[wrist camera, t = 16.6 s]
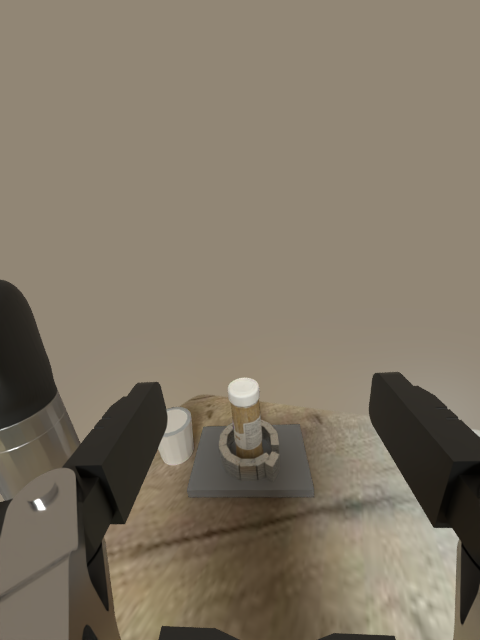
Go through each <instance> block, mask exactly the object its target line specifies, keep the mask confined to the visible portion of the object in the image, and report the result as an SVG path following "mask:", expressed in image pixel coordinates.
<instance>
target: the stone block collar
mask: <svg viewBox="0 0 480 640" xmlns="http://www.w3.org/2000/svg"><path fill="white" fill-rule="evenodd" d="M261 429H262V439H263V440H265V441H266V442H267V443H268V445H269V446H270V447H271V454H270V456H269V455H268V454H267V452H266V453H264V454H262V455H260V456H259V457H257V458H255V459H241V458H239V457H237V456H235V455H233V454H231V452H230V450H229V449H230V447H231V446H232V445H233V444H234V442H235V438H234V429H233V422H232V423H230V424H229V425H228V426H227V427H226V428H225V429H224V430H223V432H222V433H221V434H220V440H219V452H220V458H221V462H222V464H223V466H224V468H225V470H226V472H227V473H228V474H229V475H231V476H233V477H234V478H236V479H238V480H241V481H257V479H258V480H261V479H262V478H264V477H266V478H267V479H269V480H271V481H273V482H274V480H275V478H276V476H277V474H278V472H279V470H280V454H279V441H278V433H277V431H276V430H275V429H274V428H273V427H272V425H271V424H270V423H269V422H266V421H264V420H261Z"/></svg>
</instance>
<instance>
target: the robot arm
mask: <svg viewBox="0 0 480 640" xmlns="http://www.w3.org/2000/svg"><path fill="white" fill-rule="evenodd" d="M369 415H370V419H371V422H372V425H373V427H374V428H375V430H376V432H377V433H378V435H379V437H380V438H381V440H382V442H383V443H384V445H385V447H386V448H387V450H388V452H389V453H390V455H391V457H392V458H393V460H394V462H395V463H396V465H397V467H398V469H399V470H400V472H401V474H402V475H403V477H404V479H405V480H406V482H407V484H408V485H409V487H410V489H411V490H412V492H413V494H414V495H415V497H416V499H417V500H418V502H419V504H420V505H421V507H422V509H423V510H424V512H425V514H426V515H427V517H428V519H429V520H430V522H431V524H432V526H433V527H434V528H453V530H454V531H455V533H456V534H457V536H458V537H459V541H458V545H457V564H456V595H455V625H454V637H453V640H480V437H479V436H478V435H476V434H475V433H474V432H473V431H472V430H471V429H470V428H469V427H468V426H467V425H466V424H465V423H464V422H463V421H462V420H459V419H458V417H457V416H456V415H455V414H454V413H453V412H452V411H451V410H450V409H449V410H448V409H447V406H445V405H444V404H443V403H442V402H441V401H440V400H439V399H438V398H437V397H436V396H435V395H433V394H431V393H430V392H428V391H426V390H424V389H422V388H421V387H419V386H413V385H412V384H411V383H410V382H409V381H408V380H407V379H406V378H405V377H404V376H403V375H402V374H401V373H399V372H388V373H375V374H374V375H373V378H372V386H371V394H370V402H369ZM167 421H168V416H167V411H166V406H165V402H164V398H163V394H162V390H161V386H160V384H159V383H158V382H146V383H137V384H136V385H135V386H134V388H133V389H132V390H131V392H130V393H129V394H128V396H127V397H122V398H121V399H120V400H118V401H117V402H116V403H115V404H113V405H112V406H111V407H110V408H109V409H108V410H107V412H106V413H105V414H104V415H103V417H102V420H99V422H98V423H97V424H96V425H95V427H94V429H92V430H91V432H90V433H89V434H88V435H87V437H86V438H85V439H84V440H83V442H82V443H81V444H80V441H79V439H78V437H77V434H76V432H75V430H74V427H73V425H72V423H71V420H70V418H69V415H68V413H67V411H66V408H65V406H64V404H63V402H62V399H61V397H60V394H59V392H58V390H57V387H56V385H55V382H54V379H53V374H52V369H51V365H50V362H49V359H48V356H47V354H46V351H45V349H44V346H43V343H42V340H41V337H40V334H39V331H38V328H37V325H36V322H35V319H34V316H33V313H32V311H31V308H30V306H29V304H28V302H27V300H26V299H25V297H24V296H23V294H22V293H21V292H20V291H19V290H18V289H17V287H15V286H14V285H12V284H11V283H9V282H7V281H4V280H0V494H1V495H2V497H3V498H4V500H5V501H3V502H0V640H121V638H120V634H119V631H118V627H117V623H116V618H115V612H114V604H113V596H112V588H111V581H110V573H109V565H108V557H107V549H106V542H105V539H104V535H105V533H106V531H107V529H108V527H109V525H110V524H125V523H126V520H127V518H128V516H129V514H130V511H131V509H132V507H133V504H134V502H135V500H136V498H137V495H138V493H139V491H140V488H141V486H142V484H143V481H144V479H145V477H146V475H147V472H148V470H149V468H150V465H151V463H152V461H153V459H154V456H155V454H156V452H157V449H158V447H159V445H160V442H161V440H162V438H163V436H164V433H165V431H166V428H167ZM159 640H239V639H237V638H235V637H233V636H230V635H228V634H226V633H224V632H222V631H220V630H218V629H216V628H194V627H170V626H162V627H161V631H160V636H159ZM318 640H396V639H395V636H387V635H363V634H339V633H333V634H331V635H328V636H326V637H323V638H321V639H318Z"/></svg>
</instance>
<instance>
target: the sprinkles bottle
mask: <svg viewBox="0 0 480 640" xmlns="http://www.w3.org/2000/svg"><path fill="white" fill-rule="evenodd" d="M259 396H260V391H259V385H258V383H257V382H256V381H255V380H253V379H250V378H239V379H236V380H234V381H232V382H231V383H230V384H229V386H228V397H229V400H230V403H231V409H232V421H233V429H234V438H235V443H236V456H237V457H239V458H241V459H255V458H257V457H259V456H260V455H262V454H263V448H262V429H261V415H260V407H259Z"/></svg>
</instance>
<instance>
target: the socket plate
mask: <svg viewBox="0 0 480 640" xmlns="http://www.w3.org/2000/svg"><path fill="white" fill-rule="evenodd" d="M226 427H227V426H210V427H203V430H202V434H201V438H200V442H199V445H198V449H197V453H196V457H195V461H194V465H193V469H192V473H191V476H190V480H189V484H188V488H187V493H188V497H314V487H313V482H312V478H311V473H310V469H309V464H308V460H307V456H306V451H305V447H304V442H303V438H302V433H301V429H300V424H290V425H272V427H273V428H274V429H275V430H276V431H277V433H278V441H279V454H280V470H279V472H278V474H277V476H276V478H275V480H274V482H273V481H271V480H269V479H267V478H266V477H264V478H262V479H261V480H258V479H257V481H241V480H238V479H236V478H234V477H233V476H231V475H229V474H228V473H227V472H226V470H225V468H224V466H223V464H222V462H221V458H220V452H219V440H220V434H221V433H222V432H223V430H224V429H225V428H226ZM262 448H263V454H264V453H266V452H267V454H268V455H269V456H270V454H271V447H270V446H269V445H268V443H267V442H266V441H265V440H263V439H262ZM229 450H230V452H231V454H233V455H235V456H236V443H235V442H234V444H233V445H232V446H231V447H230V449H229Z"/></svg>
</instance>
